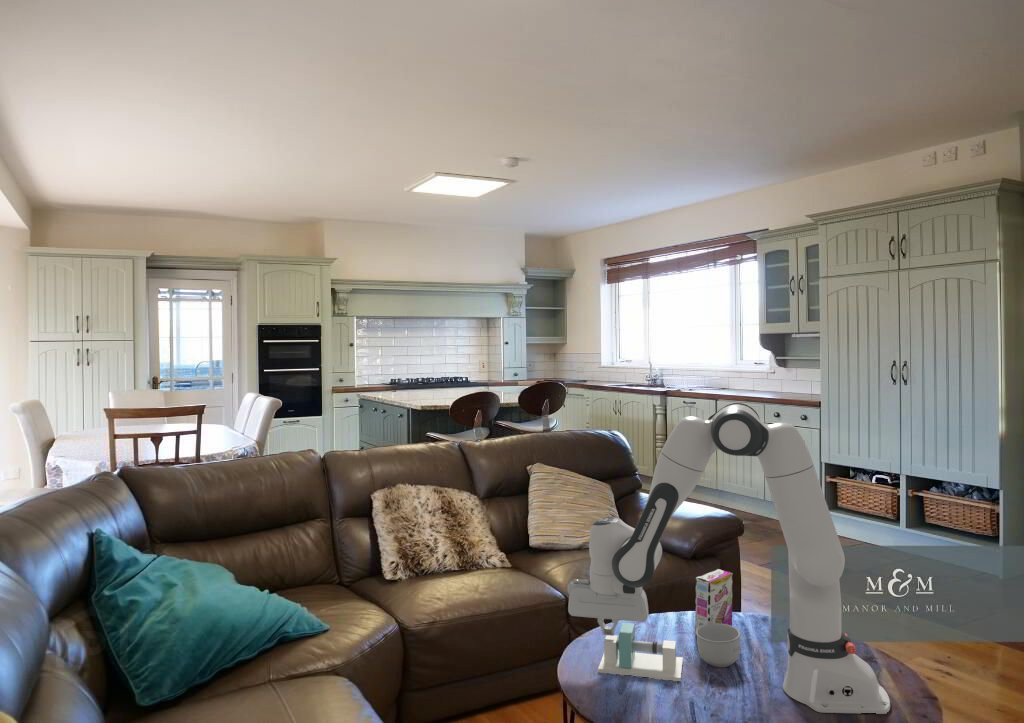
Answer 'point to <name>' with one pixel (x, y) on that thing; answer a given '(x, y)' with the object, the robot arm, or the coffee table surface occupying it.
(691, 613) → the coffee table surface
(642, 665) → the pipe stand
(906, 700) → the coffee table surface
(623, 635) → the collar
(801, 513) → the robot arm
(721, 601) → the candy bar box
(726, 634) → the teacup
